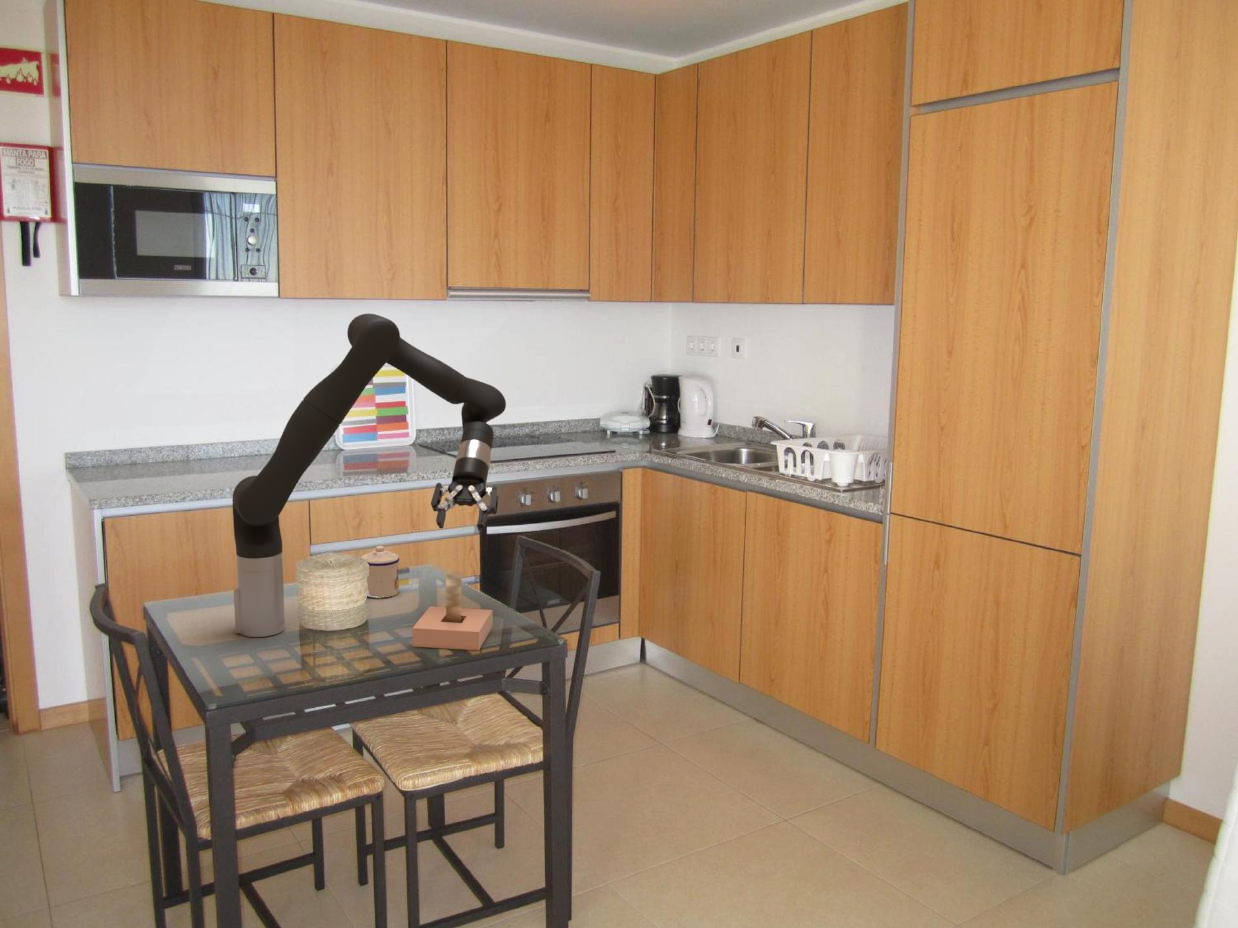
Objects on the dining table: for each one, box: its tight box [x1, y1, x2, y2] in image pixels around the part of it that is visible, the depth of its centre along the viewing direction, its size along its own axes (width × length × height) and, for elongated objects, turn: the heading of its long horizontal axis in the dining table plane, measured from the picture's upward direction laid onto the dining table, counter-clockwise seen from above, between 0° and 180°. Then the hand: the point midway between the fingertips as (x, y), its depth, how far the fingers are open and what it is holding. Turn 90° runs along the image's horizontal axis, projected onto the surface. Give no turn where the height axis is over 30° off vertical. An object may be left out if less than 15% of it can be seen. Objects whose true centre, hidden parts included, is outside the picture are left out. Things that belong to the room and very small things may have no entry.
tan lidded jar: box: [360, 545, 400, 597], centre depth 245 cm, size 12×9×12 cm
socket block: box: [411, 606, 494, 651], centre depth 217 cm, size 14×14×4 cm
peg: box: [445, 571, 462, 623], centre depth 216 cm, size 3×3×14 cm
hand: (460, 527), depth 218 cm, fingers open, 8 cm apart
